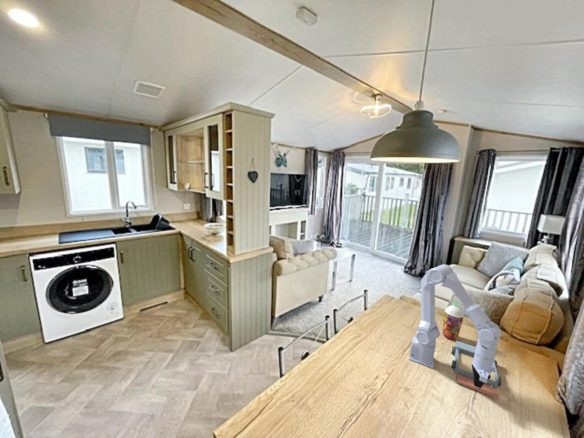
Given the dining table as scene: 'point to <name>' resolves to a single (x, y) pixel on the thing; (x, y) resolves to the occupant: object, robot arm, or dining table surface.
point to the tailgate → (483, 389)
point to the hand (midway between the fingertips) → (477, 385)
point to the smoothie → (452, 321)
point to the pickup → (470, 363)
